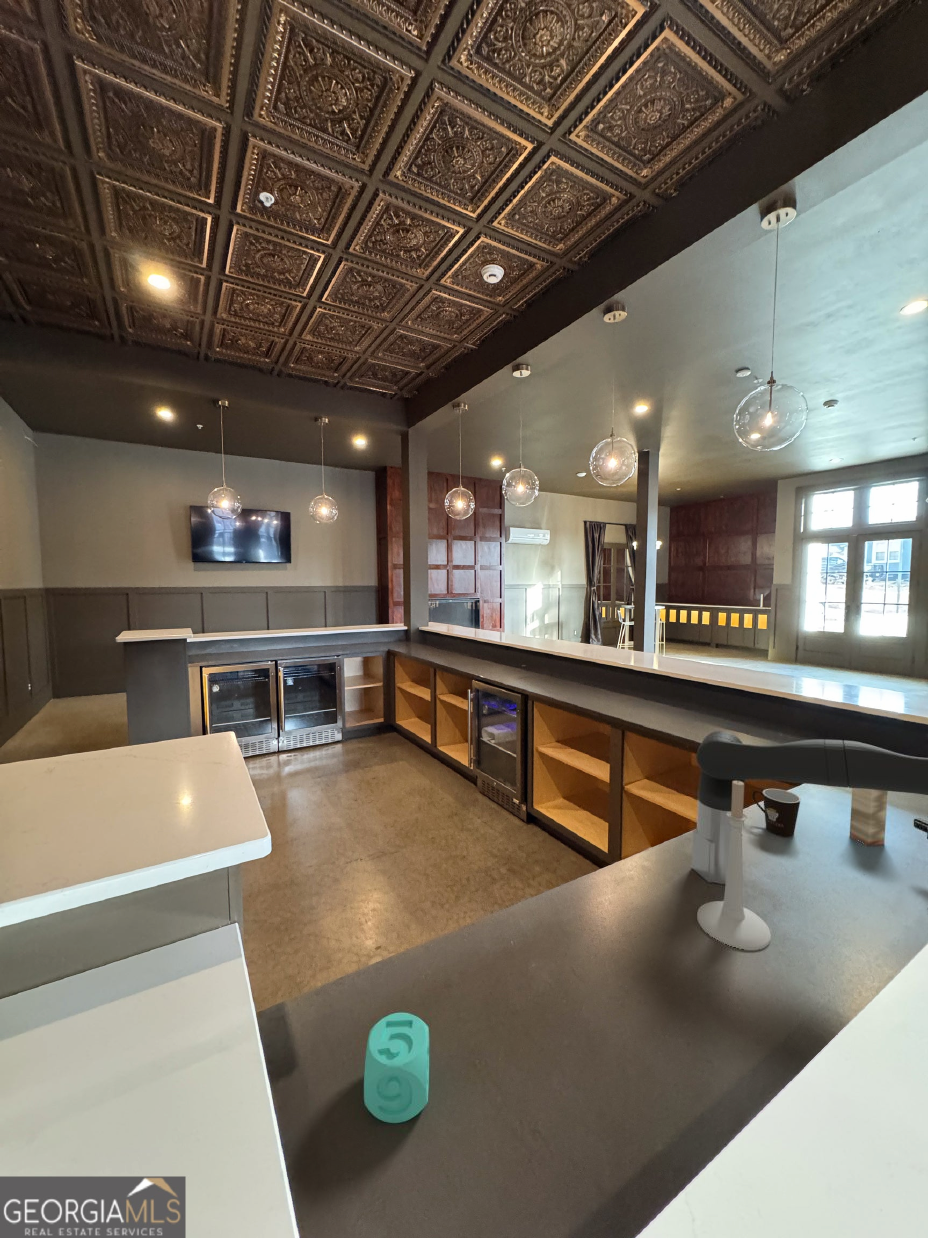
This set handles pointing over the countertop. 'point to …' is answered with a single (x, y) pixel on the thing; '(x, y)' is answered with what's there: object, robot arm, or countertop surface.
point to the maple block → (868, 816)
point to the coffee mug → (779, 811)
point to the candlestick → (734, 893)
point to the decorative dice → (397, 1068)
